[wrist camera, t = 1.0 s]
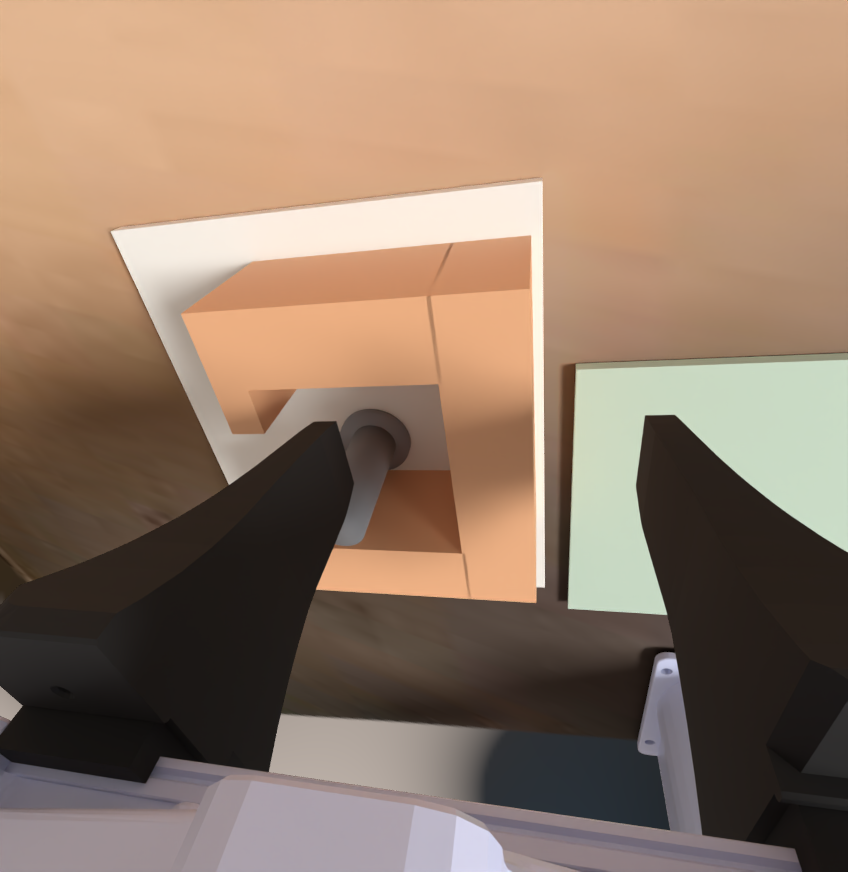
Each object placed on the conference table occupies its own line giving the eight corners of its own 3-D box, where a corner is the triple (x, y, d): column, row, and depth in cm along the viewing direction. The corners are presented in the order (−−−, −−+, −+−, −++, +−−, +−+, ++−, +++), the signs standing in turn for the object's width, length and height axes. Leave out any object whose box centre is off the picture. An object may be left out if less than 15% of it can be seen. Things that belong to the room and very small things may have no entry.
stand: (544, 578, 23) (546, 689, 19) (274, 564, 25) (225, 658, 21) (542, 177, 13) (544, 228, 9) (120, 227, 16) (-13, 282, 12)
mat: (880, 619, 20) (885, 628, 20) (567, 601, 23) (567, 608, 23) (1046, 345, 14) (1058, 352, 13) (575, 363, 16) (576, 369, 16)
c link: (333, 510, 22) (299, 588, 18) (252, 261, 16) (180, 313, 12) (536, 514, 20) (536, 602, 17) (531, 234, 14) (529, 288, 11)
